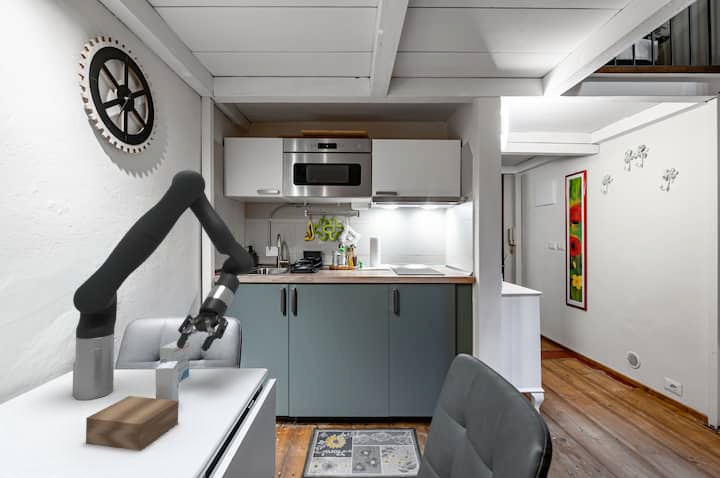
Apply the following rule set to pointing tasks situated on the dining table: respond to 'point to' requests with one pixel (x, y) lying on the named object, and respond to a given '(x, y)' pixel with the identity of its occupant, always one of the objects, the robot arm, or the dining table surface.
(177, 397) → the skincare box
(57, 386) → the dining table surface
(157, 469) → the dining table surface
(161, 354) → the ink box
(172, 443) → the dining table surface
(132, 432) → the walnut block
